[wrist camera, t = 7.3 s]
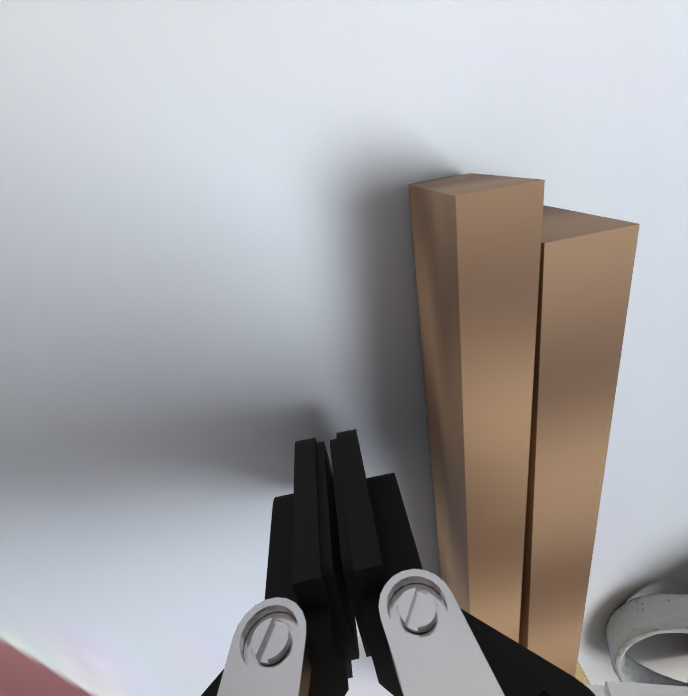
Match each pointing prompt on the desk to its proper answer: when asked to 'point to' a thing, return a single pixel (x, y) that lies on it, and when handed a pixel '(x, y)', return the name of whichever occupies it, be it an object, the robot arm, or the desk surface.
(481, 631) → the robot arm
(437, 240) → the bar
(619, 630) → the ceramic mug
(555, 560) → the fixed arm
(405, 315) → the desk surface
